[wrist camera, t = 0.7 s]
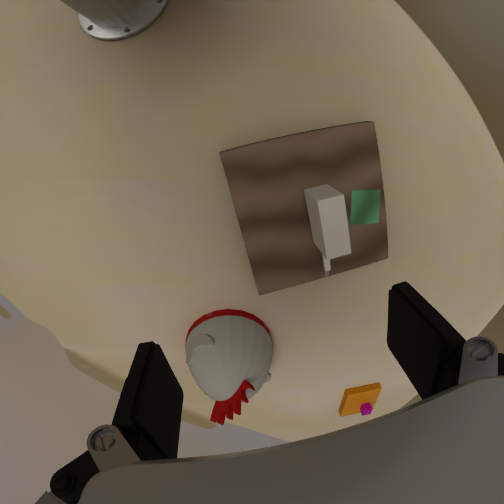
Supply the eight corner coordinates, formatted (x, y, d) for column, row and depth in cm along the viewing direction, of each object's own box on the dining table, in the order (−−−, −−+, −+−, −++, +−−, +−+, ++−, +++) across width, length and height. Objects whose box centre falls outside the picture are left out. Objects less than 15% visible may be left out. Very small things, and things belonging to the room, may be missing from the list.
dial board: (219, 151, 36) (219, 153, 34) (366, 121, 36) (374, 121, 34) (257, 288, 45) (259, 295, 43) (382, 252, 44) (388, 258, 42)
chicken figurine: (169, 346, 48) (158, 418, 34) (223, 292, 44) (226, 365, 31) (233, 382, 52) (238, 450, 39) (287, 338, 49) (308, 408, 36)
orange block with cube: (337, 409, 60) (343, 423, 57) (344, 387, 57) (350, 402, 53) (369, 403, 61) (375, 416, 57) (378, 380, 58) (385, 394, 54)
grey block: (301, 187, 37) (317, 200, 31) (323, 182, 37) (343, 194, 31) (316, 271, 42) (331, 296, 36) (336, 265, 42) (354, 289, 36)
